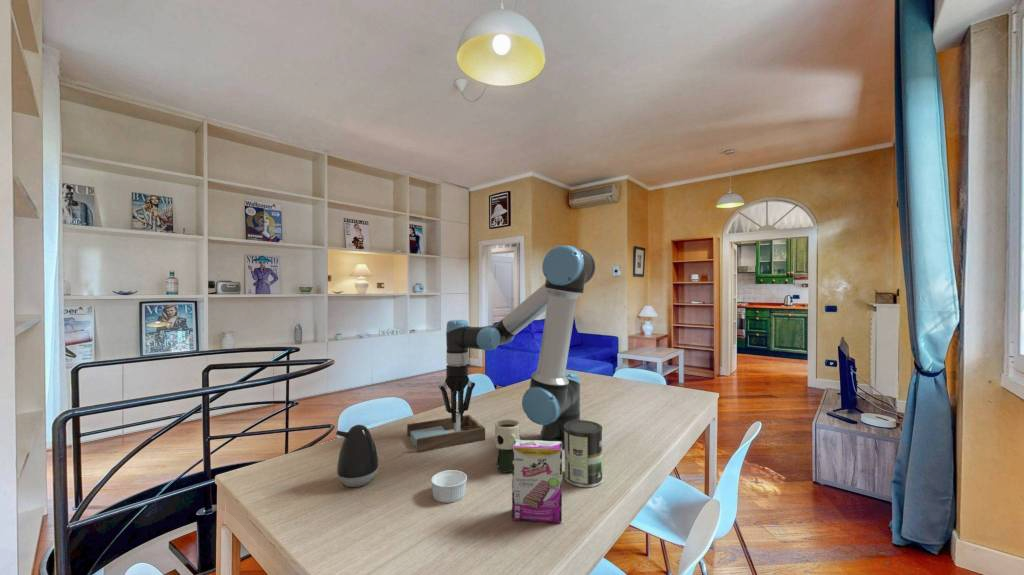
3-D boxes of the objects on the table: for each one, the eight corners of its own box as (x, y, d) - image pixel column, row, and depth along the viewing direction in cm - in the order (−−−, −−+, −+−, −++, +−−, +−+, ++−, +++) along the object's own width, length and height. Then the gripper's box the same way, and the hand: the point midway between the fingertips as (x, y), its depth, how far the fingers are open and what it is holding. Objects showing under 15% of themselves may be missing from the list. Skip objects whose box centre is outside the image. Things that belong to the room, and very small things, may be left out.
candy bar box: (511, 521, 86) (511, 447, 86) (513, 509, 91) (513, 438, 91) (562, 524, 85) (562, 448, 85) (562, 511, 90) (561, 440, 90)
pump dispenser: (336, 477, 106) (336, 421, 106) (376, 470, 110) (376, 416, 110) (335, 495, 97) (335, 434, 97) (379, 487, 101) (379, 428, 101)
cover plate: (449, 444, 130) (449, 435, 130) (416, 450, 125) (416, 441, 125) (441, 434, 139) (441, 426, 139) (410, 439, 134) (410, 431, 134)
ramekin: (435, 486, 102) (435, 469, 102) (469, 486, 101) (469, 469, 101) (427, 504, 93) (427, 486, 93) (464, 505, 93) (464, 486, 93)
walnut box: (485, 439, 133) (485, 428, 133) (417, 452, 123) (417, 439, 123) (469, 425, 147) (469, 414, 147) (407, 435, 137) (407, 424, 137)
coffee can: (598, 469, 111) (598, 419, 111) (606, 487, 100) (606, 433, 100) (561, 469, 111) (561, 419, 111) (566, 487, 100) (566, 432, 100)
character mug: (489, 463, 115) (489, 419, 115) (512, 459, 117) (511, 416, 117) (502, 480, 105) (502, 431, 105) (526, 475, 107) (526, 427, 107)
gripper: (471, 360, 143) (471, 425, 143) (436, 363, 137) (436, 430, 137) (478, 364, 136) (478, 431, 136) (442, 367, 131) (442, 438, 131)
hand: (457, 431), depth 137 cm, fingers closed
